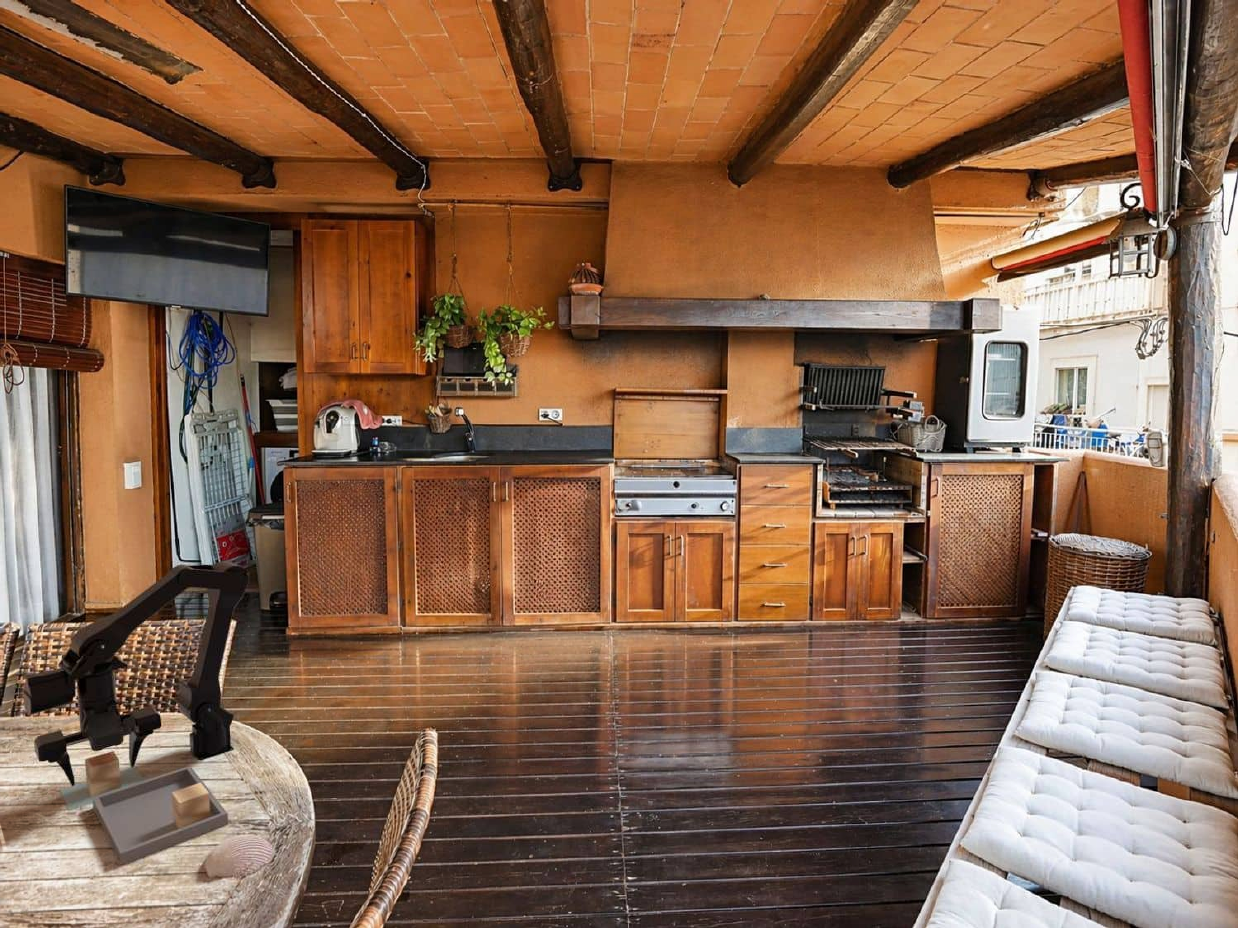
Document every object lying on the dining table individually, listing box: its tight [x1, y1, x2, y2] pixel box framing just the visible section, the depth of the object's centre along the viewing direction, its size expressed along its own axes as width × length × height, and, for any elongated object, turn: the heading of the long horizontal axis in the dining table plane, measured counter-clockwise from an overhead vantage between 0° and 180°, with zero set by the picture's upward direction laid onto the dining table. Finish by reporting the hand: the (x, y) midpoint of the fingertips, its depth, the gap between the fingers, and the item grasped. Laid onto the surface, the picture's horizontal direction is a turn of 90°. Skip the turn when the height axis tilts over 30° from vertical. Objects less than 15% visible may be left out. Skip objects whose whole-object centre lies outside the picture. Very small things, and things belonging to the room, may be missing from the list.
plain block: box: [172, 783, 210, 829], centre depth 127 cm, size 4×4×6 cm
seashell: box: [202, 834, 273, 879], centre depth 118 cm, size 10×6×10 cm
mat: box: [59, 766, 145, 811], centre depth 138 cm, size 12×9×1 cm
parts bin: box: [92, 765, 229, 867], centre depth 129 cm, size 16×22×2 cm
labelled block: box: [84, 750, 121, 797], centre depth 138 cm, size 4×4×6 cm
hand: (103, 775), depth 138 cm, fingers open, 9 cm apart
